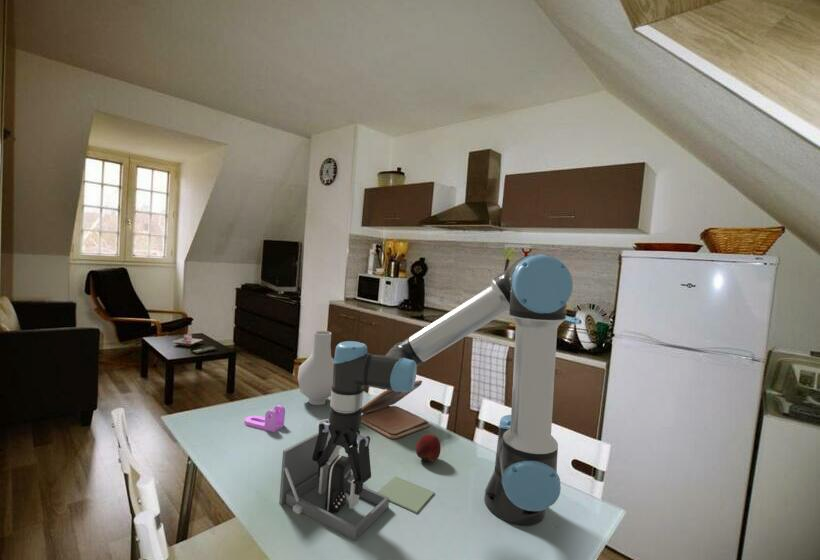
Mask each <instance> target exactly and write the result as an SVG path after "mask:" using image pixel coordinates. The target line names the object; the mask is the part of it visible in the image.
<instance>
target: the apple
mask: <svg viewBox="0 0 820 560" xmlns="http://www.w3.org/2000/svg"><path fill="white" fill-rule="evenodd" d="M441 447H442V446H441V441H440V439H439V438H438V437H437V436H436V435H435V434H431V433H426V434H423V435H422V436H421V437H420V438H419V439H418V441H417V443H416V447H415V452H416V455H417V457H418V458H420V459H421V460H423V462H435V461H436V460H437V459H438V458H439V457H440V454H441Z"/></svg>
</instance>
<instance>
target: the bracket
mask: <svg viewBox="0 0 820 560" xmlns="http://www.w3.org/2000/svg"><path fill="white" fill-rule="evenodd" d="M285 417H286V408H285V407H284V406H283V405H282V404H278V405H276V406H274V407H273V408H270V409H269V410H267V411H266V412H265V416H260V415H249V416H246V417H245V418H244V425H245V426H248V427H252V428H257V429H260V430H264V431H267V432H271V433H275V432H277V431H278V430H279V429H281V428H283V427H284V426H285V419H286V418H285Z"/></svg>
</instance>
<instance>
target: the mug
mask: <svg viewBox="0 0 820 560" xmlns="http://www.w3.org/2000/svg"><path fill="white" fill-rule="evenodd" d="M325 421H328V422H329V418H326V419H325V418H323V419H322V420H320V421H318V423H317V431H316V434H317V433H318V432H319V424H321V423H323V422H325ZM330 438H331V434H330V431H329V434H328V438H327V445H328V441H329V439H330ZM341 448H342V447H341V446H339V445H337V446H336V447H335V449H334V451H333V453H332V455H331V456H330V458H329V461H328V462H326V464H327V463H330V464H331V463H332V462H333V460H334V459H335V458H336V457H337V456H338V455H340V450H341Z"/></svg>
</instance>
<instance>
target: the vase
mask: <svg viewBox="0 0 820 560" xmlns="http://www.w3.org/2000/svg"><path fill="white" fill-rule="evenodd" d="M331 342H332V332H331V331H327V330H326V331H325V330H317V331H314V333H313V343H312V349H311V353H310V355H309V357H308V358H306V360H304V361H303V362H302V363H301V364H300V365H299V366H298V372H297V382H298V387H299V391H300V394H302V395H304V396H305V397H306V398H307V399H308V403H309V404H310V405H314V406H321V405H324V404H326V401H327V399H328V398H331V390H332V379H333V361H334V358H333V357H332V349H331V348H332V346H331Z"/></svg>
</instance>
